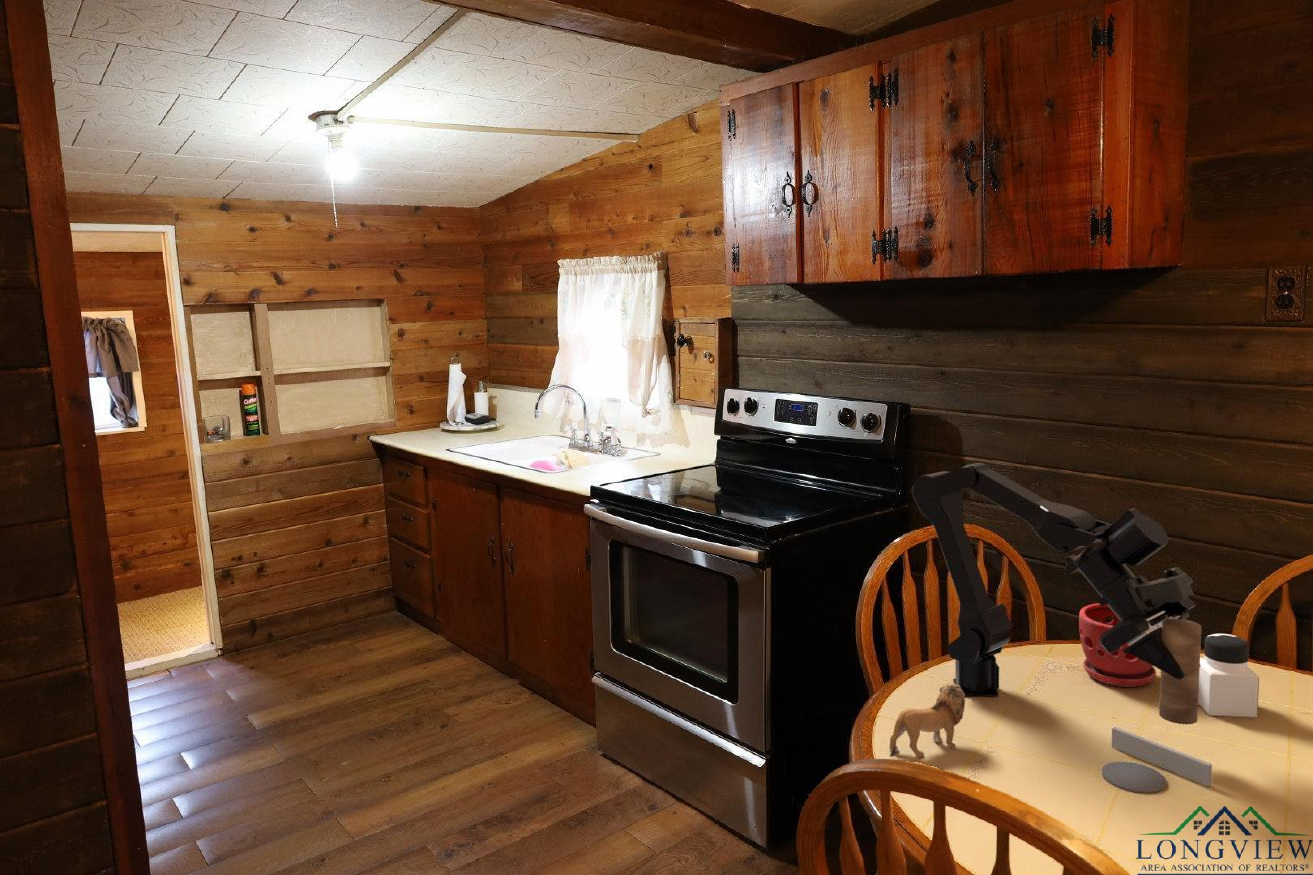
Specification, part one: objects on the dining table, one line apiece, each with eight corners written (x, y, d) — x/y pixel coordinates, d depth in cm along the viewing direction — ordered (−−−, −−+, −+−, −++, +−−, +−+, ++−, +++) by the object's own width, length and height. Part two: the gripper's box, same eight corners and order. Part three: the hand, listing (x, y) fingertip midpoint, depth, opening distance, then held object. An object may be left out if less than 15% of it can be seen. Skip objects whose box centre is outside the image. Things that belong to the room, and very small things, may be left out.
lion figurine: (948, 729, 142) (948, 675, 140) (974, 742, 137) (974, 686, 136) (878, 753, 135) (877, 697, 134) (903, 768, 130) (903, 709, 129)
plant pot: (1068, 663, 166) (1069, 601, 164) (1142, 664, 164) (1144, 601, 162) (1092, 692, 153) (1093, 625, 151) (1173, 693, 151) (1175, 626, 150)
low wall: (1111, 746, 134) (1112, 728, 133) (1114, 745, 134) (1115, 726, 134) (1207, 786, 122) (1208, 765, 121) (1211, 784, 122) (1211, 764, 122)
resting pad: (1114, 791, 121) (1114, 789, 121) (1093, 763, 129) (1093, 760, 129) (1176, 793, 120) (1176, 791, 120) (1151, 764, 128) (1151, 762, 128)
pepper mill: (1165, 723, 127) (1169, 629, 125) (1154, 708, 132) (1157, 618, 130) (1202, 725, 126) (1206, 630, 124) (1190, 710, 131) (1193, 619, 129)
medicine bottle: (1258, 718, 141) (1261, 646, 139) (1208, 716, 142) (1211, 644, 141) (1238, 699, 148) (1241, 630, 146) (1191, 697, 149) (1194, 629, 148)
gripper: (1124, 565, 123) (1207, 663, 116) (1183, 541, 134) (1263, 629, 127) (1068, 606, 131) (1143, 701, 123) (1128, 580, 142) (1200, 666, 134)
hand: (1190, 673), depth 127 cm, fingers closed on pepper mill, 5 cm apart
